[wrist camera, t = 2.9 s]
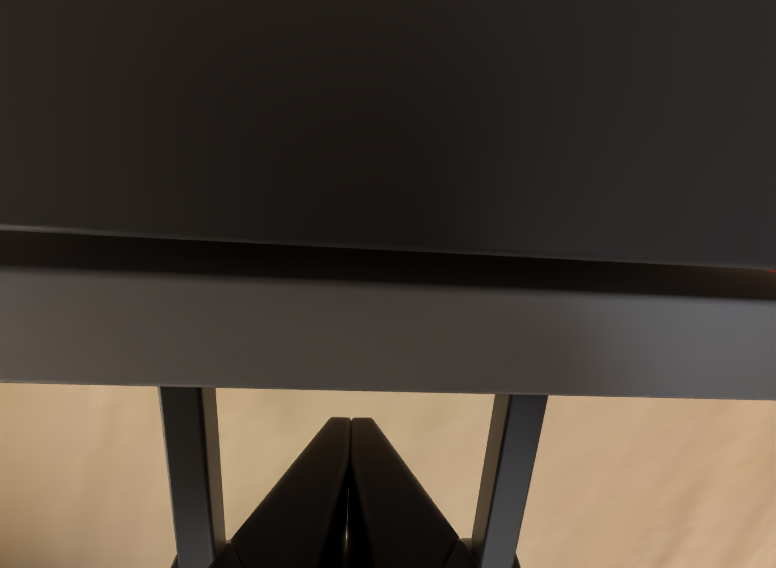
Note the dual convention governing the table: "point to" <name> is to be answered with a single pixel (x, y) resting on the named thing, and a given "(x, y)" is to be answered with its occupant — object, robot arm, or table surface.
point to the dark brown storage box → (398, 125)
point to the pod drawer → (372, 342)
